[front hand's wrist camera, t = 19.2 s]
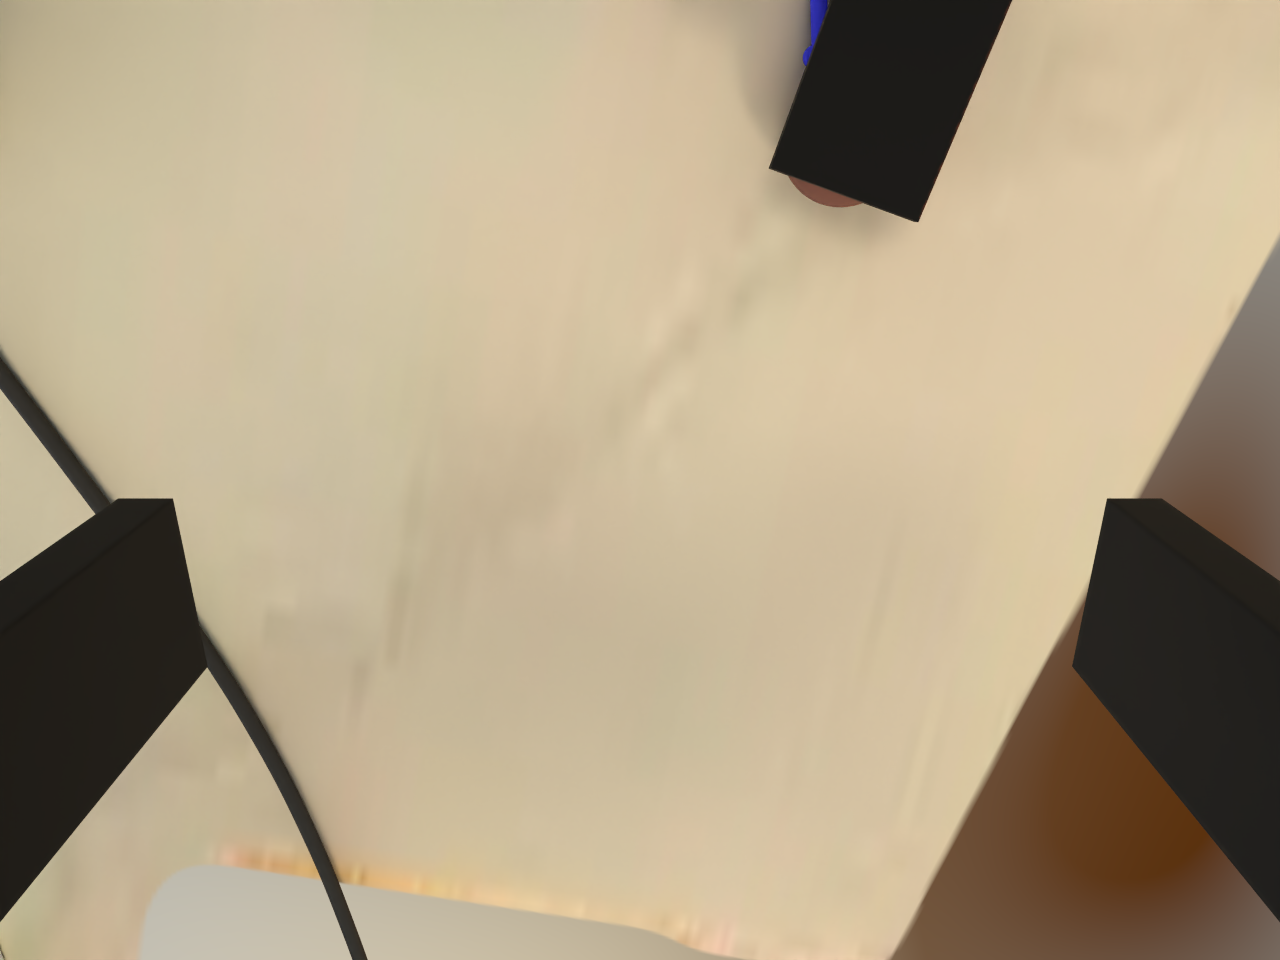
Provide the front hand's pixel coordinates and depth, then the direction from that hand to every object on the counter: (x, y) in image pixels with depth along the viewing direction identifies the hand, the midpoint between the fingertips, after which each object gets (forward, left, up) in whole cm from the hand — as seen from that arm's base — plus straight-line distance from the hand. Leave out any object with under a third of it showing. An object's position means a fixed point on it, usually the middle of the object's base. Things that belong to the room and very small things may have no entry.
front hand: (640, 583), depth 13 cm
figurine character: (+6, -13, -30) cm, 34 cm away
